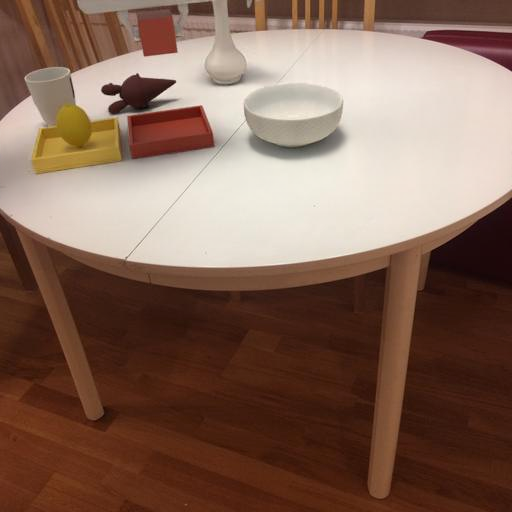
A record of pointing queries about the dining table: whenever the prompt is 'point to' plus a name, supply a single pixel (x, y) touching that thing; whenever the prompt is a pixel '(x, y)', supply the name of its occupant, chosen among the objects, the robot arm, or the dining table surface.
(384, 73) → the dining table surface
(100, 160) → the yellow tray
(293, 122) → the cereal bowl
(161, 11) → the red block
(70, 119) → the lemon
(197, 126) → the red tray
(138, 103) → the icecream
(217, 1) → the flower vase
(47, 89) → the cup
